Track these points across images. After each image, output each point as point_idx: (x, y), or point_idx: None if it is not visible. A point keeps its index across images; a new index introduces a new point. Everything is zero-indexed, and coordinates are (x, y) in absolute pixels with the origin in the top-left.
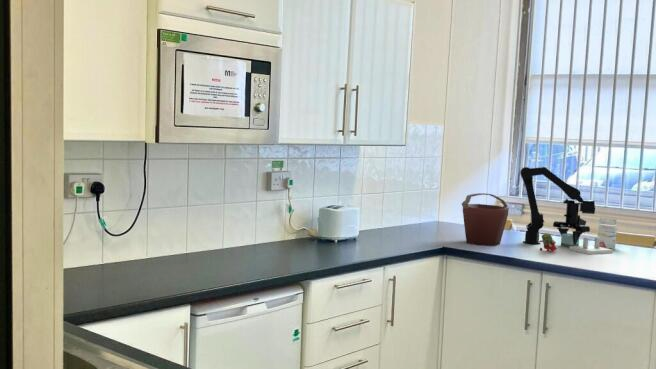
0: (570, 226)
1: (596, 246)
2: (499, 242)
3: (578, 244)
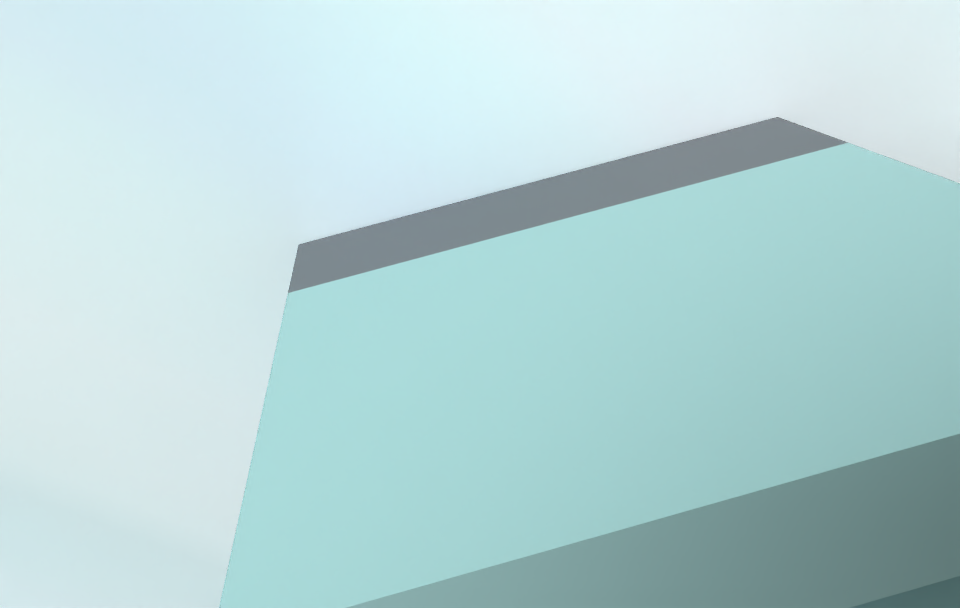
0: None
1: None
2: None
3: (840, 160)
